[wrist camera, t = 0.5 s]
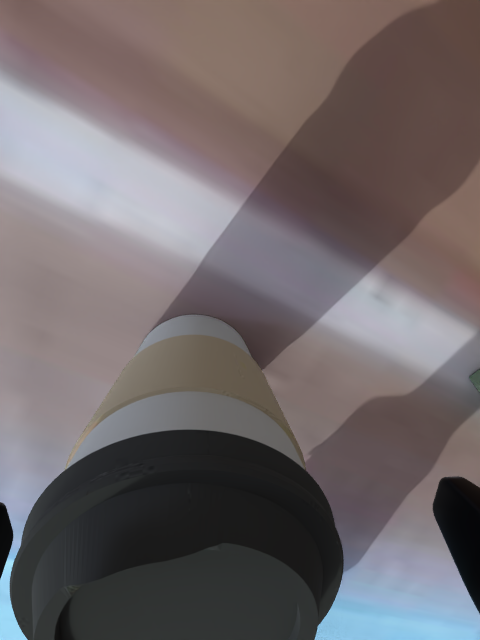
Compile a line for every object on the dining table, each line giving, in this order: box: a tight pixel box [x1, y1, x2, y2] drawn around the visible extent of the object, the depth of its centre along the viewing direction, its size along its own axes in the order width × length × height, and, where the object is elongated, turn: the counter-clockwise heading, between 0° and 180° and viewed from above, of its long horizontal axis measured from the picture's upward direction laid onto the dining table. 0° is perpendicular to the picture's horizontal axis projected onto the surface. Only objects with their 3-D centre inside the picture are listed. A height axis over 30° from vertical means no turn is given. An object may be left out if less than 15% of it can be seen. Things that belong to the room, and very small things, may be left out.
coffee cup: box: [10, 315, 344, 640], centre depth 16 cm, size 9×9×15 cm
